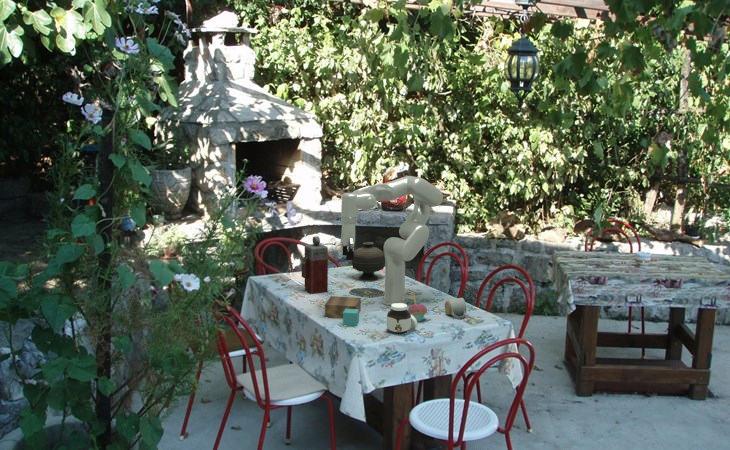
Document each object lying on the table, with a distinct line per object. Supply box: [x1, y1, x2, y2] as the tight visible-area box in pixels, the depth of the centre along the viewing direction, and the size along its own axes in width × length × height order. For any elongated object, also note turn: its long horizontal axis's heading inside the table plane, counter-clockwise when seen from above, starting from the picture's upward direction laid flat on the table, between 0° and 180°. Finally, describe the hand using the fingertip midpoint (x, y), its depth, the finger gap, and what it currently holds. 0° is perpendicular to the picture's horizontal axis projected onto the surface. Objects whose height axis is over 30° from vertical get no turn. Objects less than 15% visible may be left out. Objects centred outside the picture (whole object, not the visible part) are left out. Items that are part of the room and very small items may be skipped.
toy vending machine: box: [301, 235, 329, 295], centre depth 388 cm, size 9×11×28 cm
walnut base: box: [324, 295, 362, 320], centre depth 353 cm, size 14×14×6 cm
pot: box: [351, 241, 385, 282], centre depth 415 cm, size 18×18×20 cm
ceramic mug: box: [444, 297, 467, 319], centre depth 352 cm, size 11×8×8 cm
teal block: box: [342, 309, 360, 327], centre depth 338 cm, size 6×6×6 cm
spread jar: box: [386, 303, 419, 335], centre depth 329 cm, size 12×11×12 cm
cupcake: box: [407, 295, 428, 322], centre depth 345 cm, size 9×8×12 cm
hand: (347, 257), depth 353 cm, fingers open, 9 cm apart
